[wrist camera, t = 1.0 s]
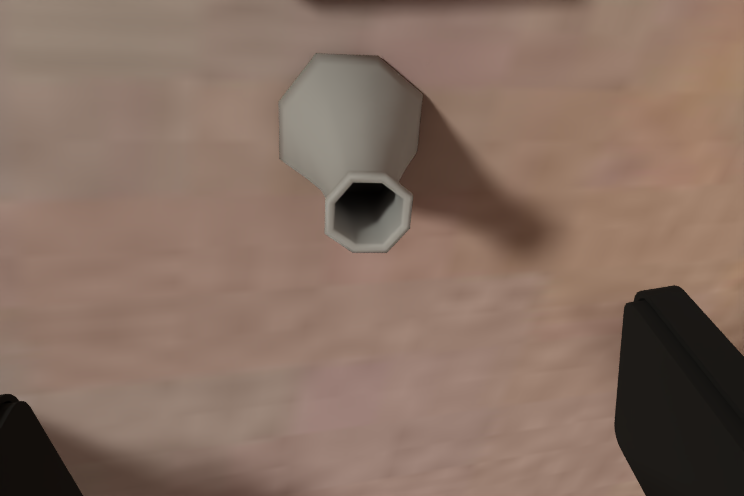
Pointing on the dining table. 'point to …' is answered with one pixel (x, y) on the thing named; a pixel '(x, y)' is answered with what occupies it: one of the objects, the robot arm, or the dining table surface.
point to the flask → (354, 145)
